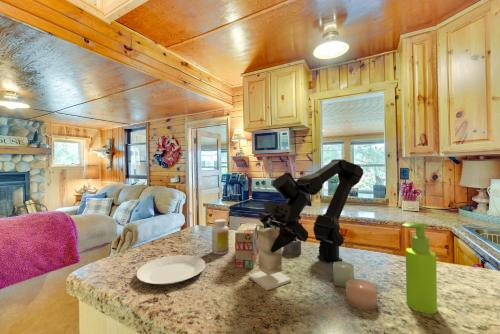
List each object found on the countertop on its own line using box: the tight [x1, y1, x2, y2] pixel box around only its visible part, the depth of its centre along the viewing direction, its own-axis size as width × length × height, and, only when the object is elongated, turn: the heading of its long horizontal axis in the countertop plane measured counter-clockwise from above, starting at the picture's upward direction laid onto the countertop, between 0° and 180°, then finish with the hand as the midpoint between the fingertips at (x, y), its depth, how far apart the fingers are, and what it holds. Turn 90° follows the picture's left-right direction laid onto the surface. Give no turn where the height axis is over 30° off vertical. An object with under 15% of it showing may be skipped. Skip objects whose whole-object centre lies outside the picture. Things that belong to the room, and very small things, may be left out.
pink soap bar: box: [345, 278, 378, 311], centre depth 57 cm, size 7×7×4 cm
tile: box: [248, 270, 292, 291], centre depth 69 cm, size 9×9×1 cm
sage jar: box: [332, 261, 355, 288], centre depth 67 cm, size 6×6×5 cm
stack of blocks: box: [234, 223, 261, 269], centre depth 87 cm, size 21×6×12 cm, turn 171°
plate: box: [136, 254, 206, 286], centre depth 74 cm, size 21×21×2 cm
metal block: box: [257, 227, 283, 275], centre depth 69 cm, size 5×5×12 cm
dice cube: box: [282, 238, 302, 256], centre depth 91 cm, size 5×5×5 cm
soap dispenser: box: [401, 221, 438, 315], centre depth 55 cm, size 6×7×20 cm
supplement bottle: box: [211, 218, 230, 256], centre depth 92 cm, size 7×7×13 cm
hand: (266, 249), depth 68 cm, fingers closed on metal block, 5 cm apart
